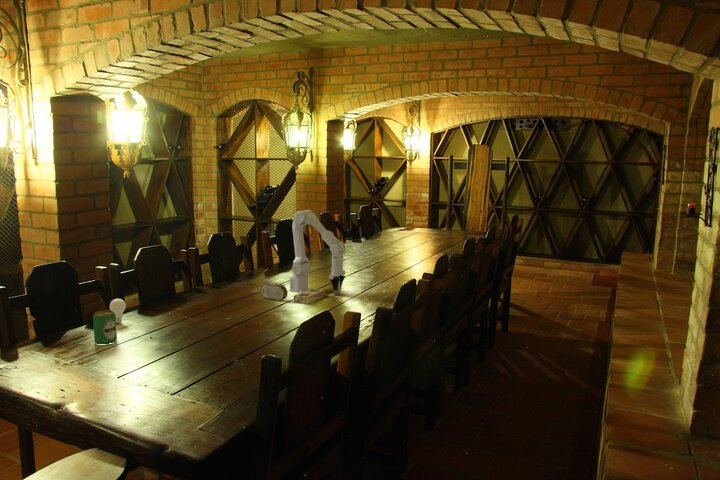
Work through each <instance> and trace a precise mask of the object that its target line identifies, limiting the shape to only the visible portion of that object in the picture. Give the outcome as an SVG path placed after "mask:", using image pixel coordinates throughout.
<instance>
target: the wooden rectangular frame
mask: <svg viewBox="0 0 720 480" xmlns="http://www.w3.org/2000/svg"><path fill="white" fill-rule="evenodd" d="M325 296H326V289H323V288H316V287H315V288H314V287H310V288H309V289H308V290H306V291H303V292H298V293H296V294H294V295H293V303H294V304H295V303H297V304H301V305H309V304H311V303H312V302H315V301H317V300H319V299H321V298H323V297H325Z"/></svg>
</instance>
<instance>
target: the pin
mask: <svg viewBox="0 0 720 480" xmlns="http://www.w3.org/2000/svg"><path fill="white" fill-rule="evenodd" d="M337 278H339V279H340V277H337ZM333 293H334V295H335V296H339V295H340V293H341V289H340V281H339V285H338V291H334V290H333Z"/></svg>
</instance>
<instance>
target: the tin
mask: <svg viewBox="0 0 720 480" xmlns="http://www.w3.org/2000/svg"><path fill="white" fill-rule="evenodd" d="M260 294H261V296H262V297H263V298H264V299H267V300H273V301H283V300H285V299H286V298H287V297H288V290H287V287H286V286H285V285H284V284H282V283H277V282H271V281H270V282H269V281H268V282H265V283H263V284H262V285H261V286H260Z"/></svg>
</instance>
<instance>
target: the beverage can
mask: <svg viewBox="0 0 720 480" xmlns="http://www.w3.org/2000/svg"><path fill="white" fill-rule="evenodd" d="M92 321H93V322H92V323H93V340H94V343H95V344H96V343H97V344H109V343H113V342H115V341H116V342H117V340H118V334H117V333H118V331H117V323H116V315H115V314H114V312H113V311H111V310H109V309H108V310H107V309H106V310H99V311H96V312H95V313H94V315H93V317H92ZM116 342H115V343H116Z"/></svg>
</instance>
